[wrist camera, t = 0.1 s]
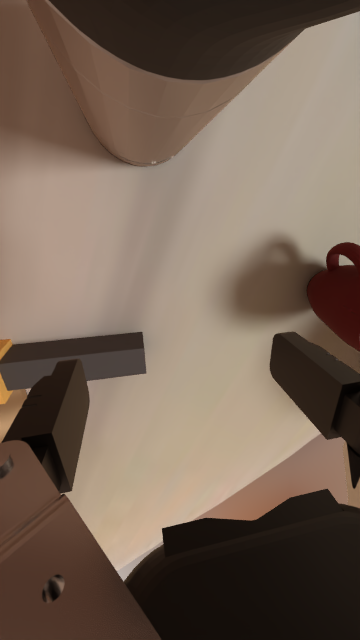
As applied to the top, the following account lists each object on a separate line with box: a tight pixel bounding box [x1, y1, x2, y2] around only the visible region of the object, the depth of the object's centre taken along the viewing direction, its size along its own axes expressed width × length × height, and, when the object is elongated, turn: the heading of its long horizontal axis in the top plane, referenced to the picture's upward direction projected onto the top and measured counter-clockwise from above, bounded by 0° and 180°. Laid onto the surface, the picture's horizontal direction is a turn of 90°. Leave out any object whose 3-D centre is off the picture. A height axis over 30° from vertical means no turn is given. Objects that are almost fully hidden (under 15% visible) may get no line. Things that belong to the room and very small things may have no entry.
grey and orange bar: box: [0, 332, 146, 404], centre depth 26 cm, size 18×5×5 cm, turn 91°
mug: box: [307, 242, 360, 351], centre depth 25 cm, size 10×8×10 cm
